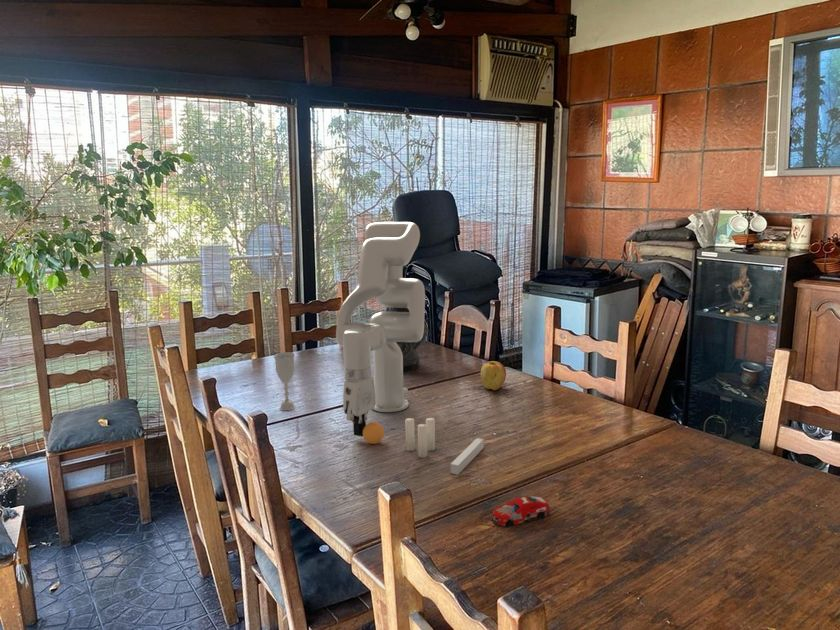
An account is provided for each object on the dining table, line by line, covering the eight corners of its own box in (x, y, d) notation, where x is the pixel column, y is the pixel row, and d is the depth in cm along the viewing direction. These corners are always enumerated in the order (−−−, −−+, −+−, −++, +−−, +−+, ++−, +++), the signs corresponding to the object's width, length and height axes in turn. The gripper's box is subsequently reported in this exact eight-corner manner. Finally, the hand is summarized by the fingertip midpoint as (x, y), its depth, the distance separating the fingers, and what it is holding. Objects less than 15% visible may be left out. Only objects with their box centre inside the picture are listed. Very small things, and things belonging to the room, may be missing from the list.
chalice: (292, 412, 201) (289, 358, 197) (273, 411, 202) (269, 357, 199) (301, 404, 208) (298, 352, 204) (282, 403, 209) (279, 351, 206)
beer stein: (378, 361, 259) (376, 302, 254) (424, 359, 261) (423, 300, 256) (379, 373, 243) (378, 310, 238) (429, 370, 245) (428, 308, 240)
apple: (511, 389, 220) (511, 362, 218) (491, 394, 215) (492, 366, 213) (494, 383, 228) (494, 356, 226) (475, 387, 223) (475, 360, 221)
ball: (368, 418, 178) (385, 418, 175) (373, 437, 179) (390, 438, 176) (356, 428, 173) (372, 428, 170) (361, 447, 175) (378, 448, 171)
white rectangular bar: (476, 446, 172) (476, 438, 171) (483, 447, 171) (483, 439, 171) (450, 473, 156) (450, 463, 156) (458, 474, 155) (458, 465, 155)
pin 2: (428, 446, 173) (428, 417, 171) (436, 447, 172) (436, 418, 170) (424, 449, 170) (424, 420, 169) (432, 451, 169) (432, 421, 168)
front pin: (408, 446, 173) (407, 417, 171) (416, 448, 171) (415, 418, 170) (404, 450, 170) (403, 420, 169) (412, 451, 169) (411, 421, 168)
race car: (499, 531, 130) (499, 513, 129) (487, 518, 135) (487, 501, 134) (553, 517, 135) (553, 500, 134) (539, 506, 140) (540, 489, 139)
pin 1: (420, 453, 168) (420, 423, 166) (428, 454, 167) (428, 424, 165) (416, 456, 166) (416, 426, 164) (424, 458, 165) (424, 427, 163)
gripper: (353, 381, 166) (356, 446, 169) (383, 367, 178) (384, 428, 182) (330, 378, 169) (333, 441, 173) (361, 364, 182) (363, 424, 186)
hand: (359, 434), depth 177 cm, fingers closed
